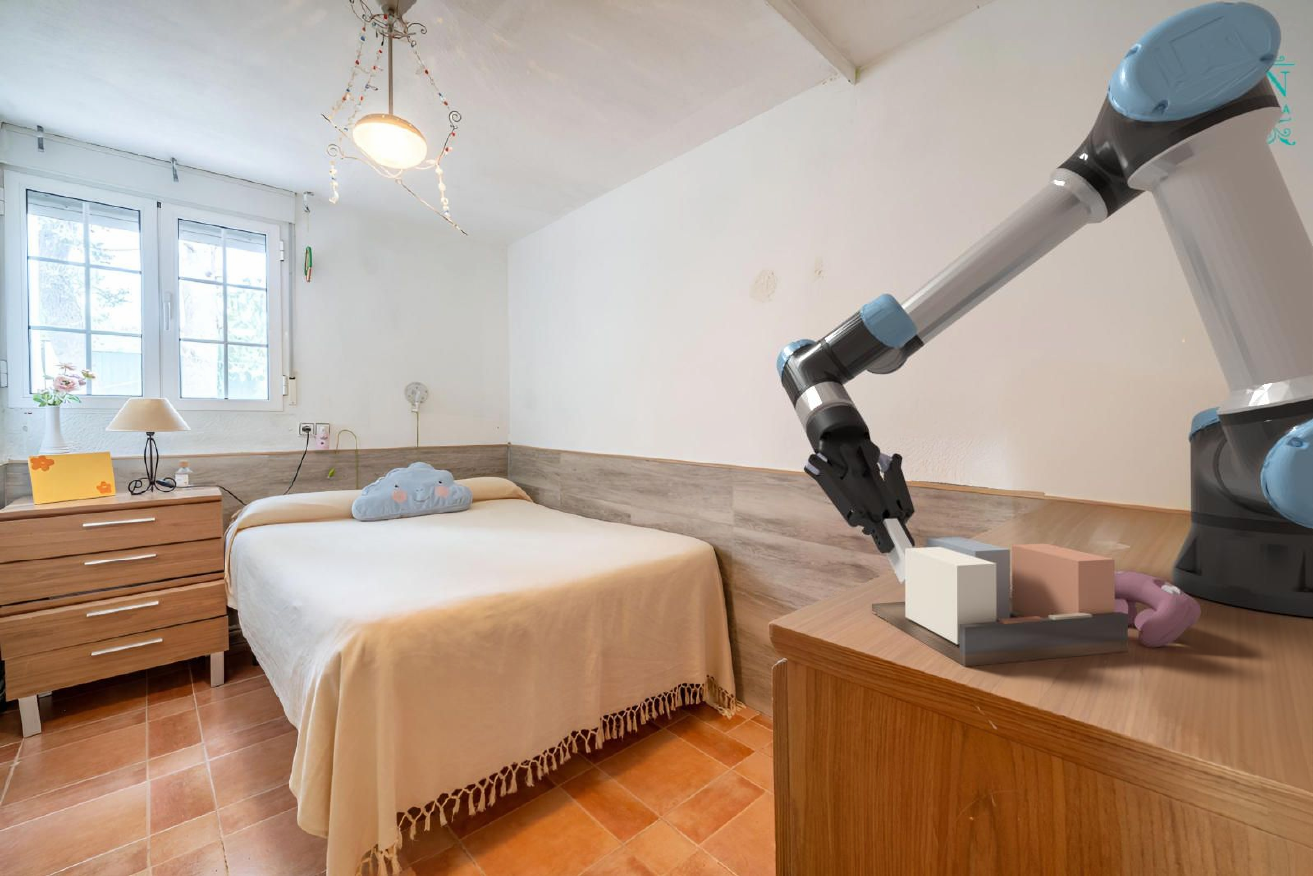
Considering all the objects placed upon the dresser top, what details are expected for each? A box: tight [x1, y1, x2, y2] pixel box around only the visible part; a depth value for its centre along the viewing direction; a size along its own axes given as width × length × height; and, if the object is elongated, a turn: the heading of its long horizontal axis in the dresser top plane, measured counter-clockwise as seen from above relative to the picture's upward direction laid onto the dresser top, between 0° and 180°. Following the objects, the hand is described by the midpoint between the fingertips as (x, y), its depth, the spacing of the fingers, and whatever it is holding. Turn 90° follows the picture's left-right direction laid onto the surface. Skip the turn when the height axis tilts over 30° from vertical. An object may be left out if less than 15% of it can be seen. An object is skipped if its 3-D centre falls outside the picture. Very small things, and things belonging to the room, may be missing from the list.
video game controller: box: [1115, 570, 1202, 648], centre depth 52 cm, size 10×5×7 cm, turn 0°
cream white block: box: [904, 547, 996, 644], centre depth 49 cm, size 7×4×7 cm, turn 10°
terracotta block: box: [1011, 543, 1116, 618], centre depth 50 cm, size 7×4×7 cm, turn 10°
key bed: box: [871, 597, 1129, 667], centre depth 51 cm, size 14×17×4 cm
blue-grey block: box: [925, 535, 1011, 620], centre depth 54 cm, size 7×4×7 cm, turn 10°
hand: (912, 576), depth 53 cm, fingers closed
